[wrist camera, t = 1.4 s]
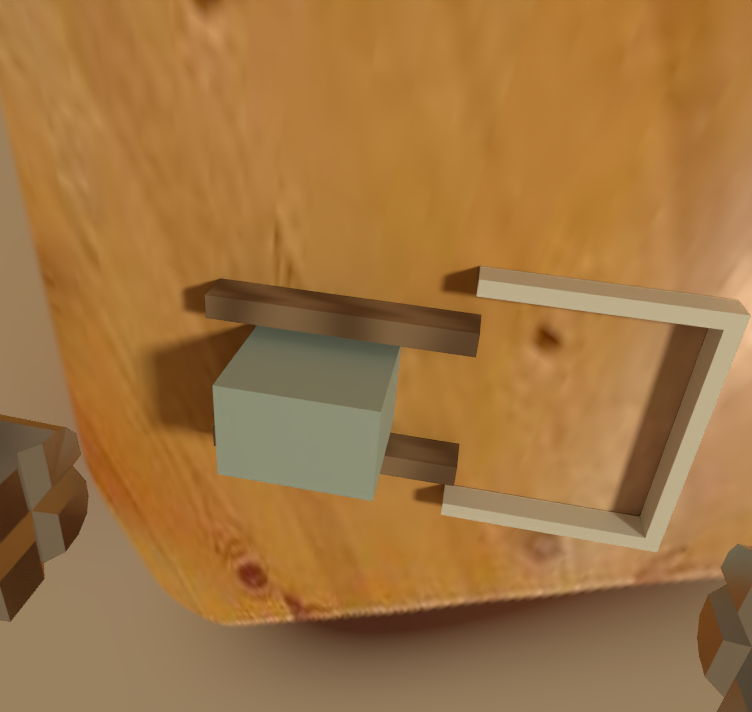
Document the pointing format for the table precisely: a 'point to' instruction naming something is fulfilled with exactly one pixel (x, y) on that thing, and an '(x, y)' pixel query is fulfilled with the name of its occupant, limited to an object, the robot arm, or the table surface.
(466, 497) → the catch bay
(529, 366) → the table surface
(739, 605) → the robot arm
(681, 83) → the table surface
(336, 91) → the table surface
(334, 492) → the block
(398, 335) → the chute
